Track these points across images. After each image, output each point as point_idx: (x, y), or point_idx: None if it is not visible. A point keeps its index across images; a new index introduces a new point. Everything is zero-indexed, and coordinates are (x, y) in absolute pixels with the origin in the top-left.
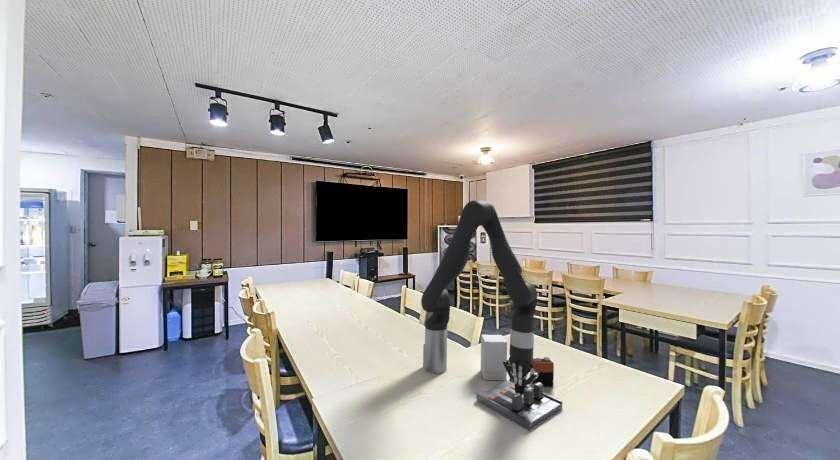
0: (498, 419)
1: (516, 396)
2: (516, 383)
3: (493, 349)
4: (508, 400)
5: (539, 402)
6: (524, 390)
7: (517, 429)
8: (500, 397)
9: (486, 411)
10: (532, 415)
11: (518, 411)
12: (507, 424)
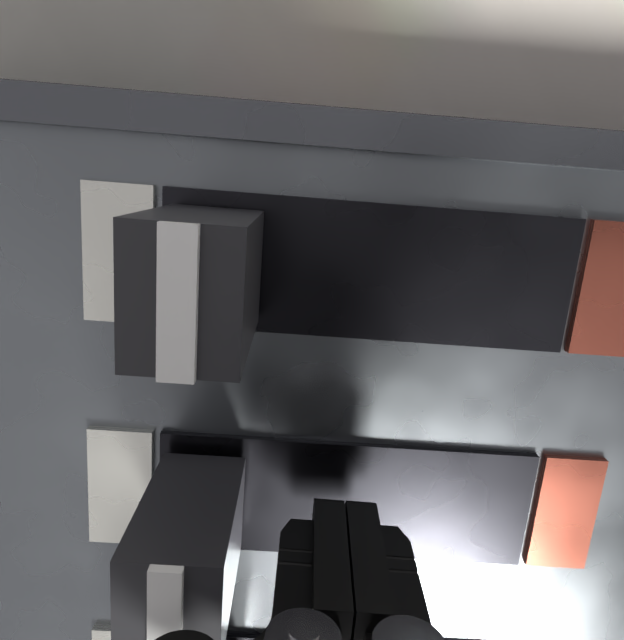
0: (338, 12)
1: (160, 255)
2: (384, 619)
3: None
4: (415, 371)
5: None
6: (204, 562)
7: (71, 11)
8: (526, 347)
9: (538, 47)
10: (17, 295)
11: None
12: (206, 6)
